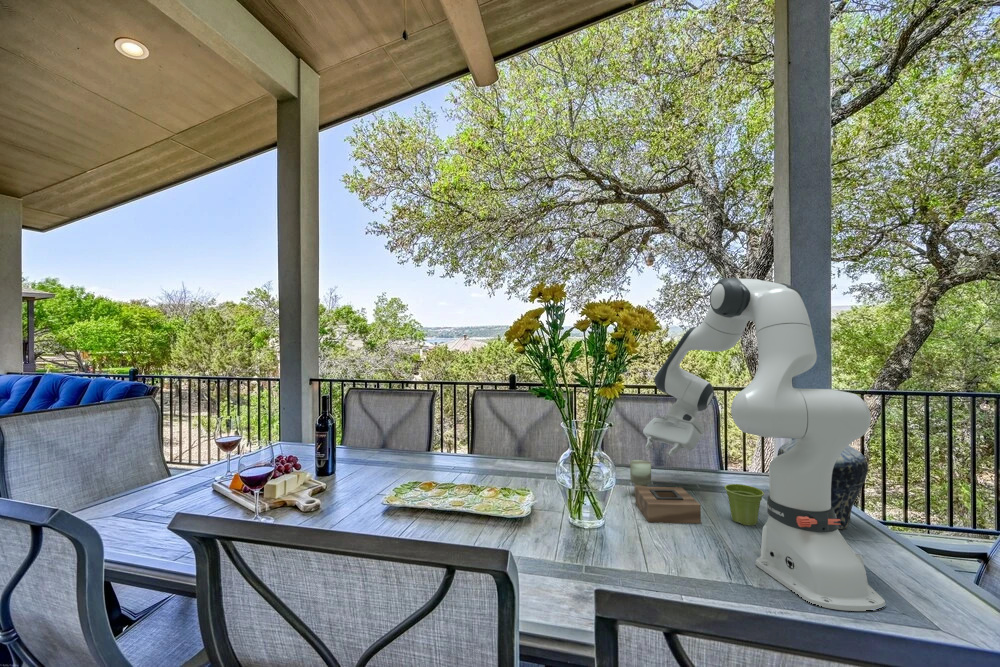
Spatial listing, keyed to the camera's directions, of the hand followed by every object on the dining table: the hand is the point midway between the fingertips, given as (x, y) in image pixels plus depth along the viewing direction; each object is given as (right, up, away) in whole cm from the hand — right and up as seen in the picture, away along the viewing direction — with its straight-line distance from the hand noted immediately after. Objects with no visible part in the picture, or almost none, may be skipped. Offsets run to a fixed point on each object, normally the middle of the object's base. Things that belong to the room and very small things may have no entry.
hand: (657, 452), depth 140 cm
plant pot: (+15, -13, -24) cm, 31 cm away
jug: (+35, -12, -25) cm, 45 cm away
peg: (-7, -13, -3) cm, 15 cm away
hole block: (-4, -13, -18) cm, 22 cm away
